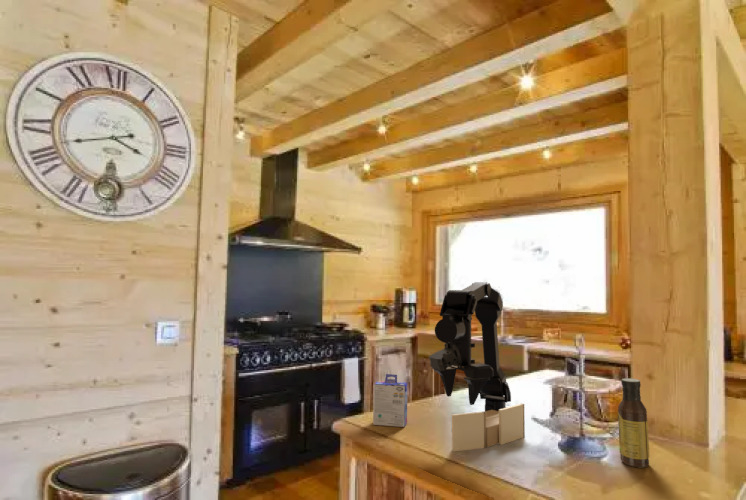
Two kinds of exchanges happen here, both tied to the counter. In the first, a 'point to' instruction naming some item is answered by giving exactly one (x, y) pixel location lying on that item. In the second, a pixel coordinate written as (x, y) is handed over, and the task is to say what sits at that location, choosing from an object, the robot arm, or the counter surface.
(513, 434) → the side flap
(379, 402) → the ink cartridge box
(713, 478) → the counter surface
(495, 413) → the carton
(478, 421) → the front flap
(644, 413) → the sauce bottle
